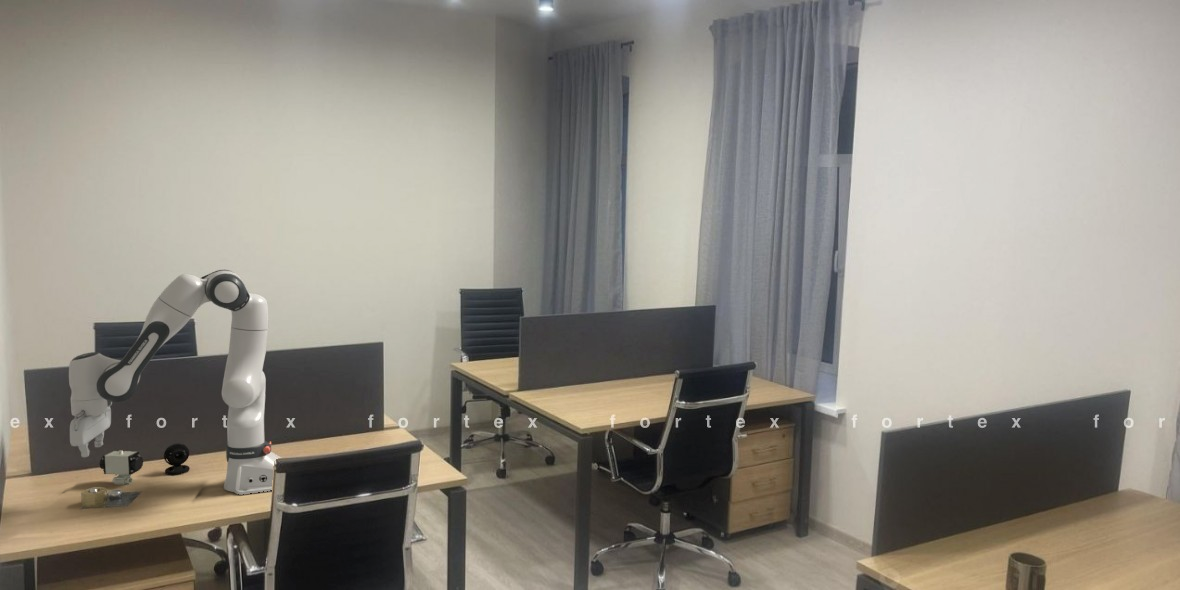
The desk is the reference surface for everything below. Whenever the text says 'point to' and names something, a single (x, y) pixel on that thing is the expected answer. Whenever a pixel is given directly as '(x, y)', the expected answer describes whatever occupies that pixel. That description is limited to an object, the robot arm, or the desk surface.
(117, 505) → the carrier
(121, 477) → the pneumatic valve
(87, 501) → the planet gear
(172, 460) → the webcam
